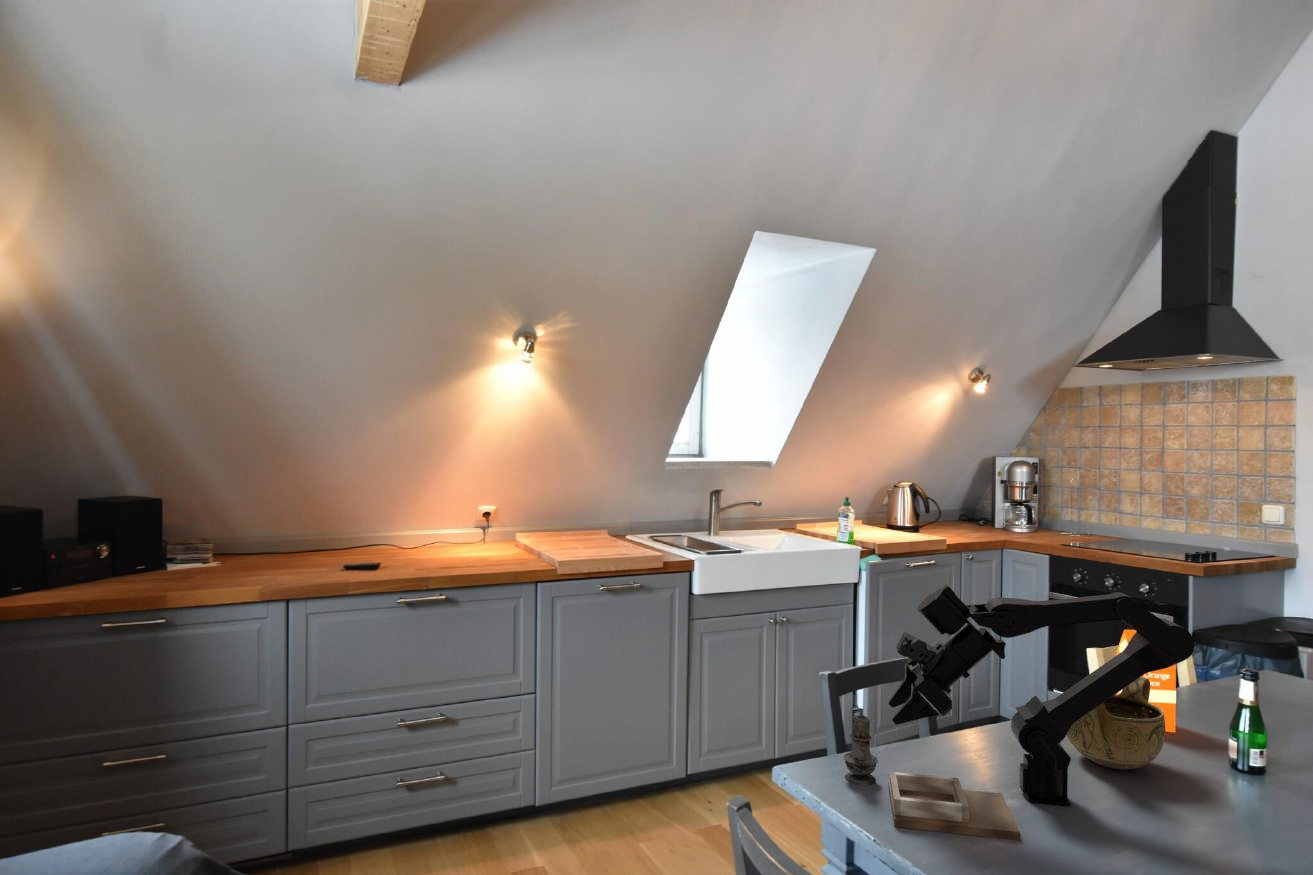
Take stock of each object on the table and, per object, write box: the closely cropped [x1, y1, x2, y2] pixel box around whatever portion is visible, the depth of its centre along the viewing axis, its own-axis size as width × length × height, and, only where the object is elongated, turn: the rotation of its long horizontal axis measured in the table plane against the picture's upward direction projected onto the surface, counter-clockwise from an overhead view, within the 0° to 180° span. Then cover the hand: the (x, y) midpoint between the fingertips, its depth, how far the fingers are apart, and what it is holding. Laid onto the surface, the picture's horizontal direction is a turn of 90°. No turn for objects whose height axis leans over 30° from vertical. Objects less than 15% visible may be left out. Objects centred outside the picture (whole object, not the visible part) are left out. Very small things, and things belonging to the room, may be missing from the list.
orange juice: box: [1115, 629, 1177, 733], centre depth 174 cm, size 8×9×20 cm
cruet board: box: [887, 771, 1021, 841], centre depth 131 cm, size 18×14×4 cm
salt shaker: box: [843, 709, 879, 786], centre depth 144 cm, size 6×6×12 cm
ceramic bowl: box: [1066, 677, 1167, 771], centre depth 153 cm, size 22×17×15 cm
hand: (892, 713), depth 143 cm, fingers open, 9 cm apart
